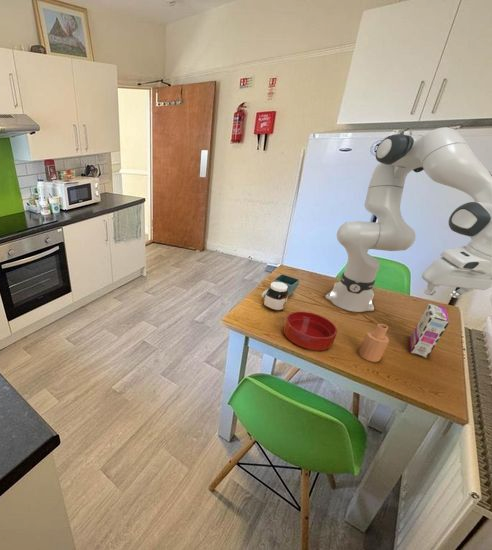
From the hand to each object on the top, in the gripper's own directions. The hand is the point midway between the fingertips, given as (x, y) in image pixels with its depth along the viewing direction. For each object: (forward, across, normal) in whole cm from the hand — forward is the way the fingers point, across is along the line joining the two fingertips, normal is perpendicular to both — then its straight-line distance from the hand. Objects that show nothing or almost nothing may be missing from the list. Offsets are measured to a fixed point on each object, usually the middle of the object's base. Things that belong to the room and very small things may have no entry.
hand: (440, 295), depth 92 cm
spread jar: (+39, +24, -33) cm, 56 cm away
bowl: (+34, +21, -10) cm, 41 cm away
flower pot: (+39, +14, -41) cm, 58 cm away
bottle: (+29, +5, +2) cm, 30 cm away
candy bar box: (+26, -16, -1) cm, 31 cm away
